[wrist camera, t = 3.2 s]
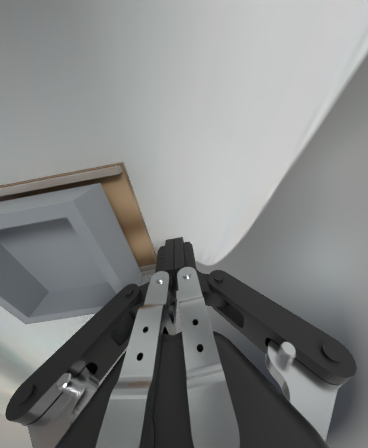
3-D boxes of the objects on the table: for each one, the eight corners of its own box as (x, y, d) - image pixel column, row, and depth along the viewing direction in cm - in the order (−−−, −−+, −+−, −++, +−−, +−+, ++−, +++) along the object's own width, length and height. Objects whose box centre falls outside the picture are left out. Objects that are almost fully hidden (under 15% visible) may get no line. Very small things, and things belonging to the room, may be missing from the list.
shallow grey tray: (-7, 199, 15) (-100, 232, 10) (108, 177, 15) (72, 200, 10) (61, 278, 21) (26, 324, 16) (144, 264, 21) (135, 307, 16)
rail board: (-153, 215, 16) (-214, 230, 14) (123, 162, 15) (112, 167, 13) (-36, 293, 24) (-62, 313, 21) (158, 261, 22) (155, 277, 20)
